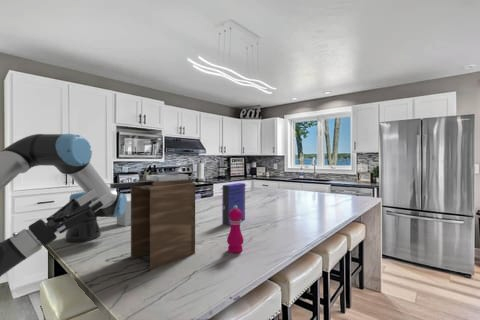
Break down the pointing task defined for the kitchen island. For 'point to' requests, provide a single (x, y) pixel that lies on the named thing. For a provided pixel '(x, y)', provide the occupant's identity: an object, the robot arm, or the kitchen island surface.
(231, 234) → the pepper mill
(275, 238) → the kitchen island surface
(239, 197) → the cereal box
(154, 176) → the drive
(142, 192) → the stand
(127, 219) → the supplement box
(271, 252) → the kitchen island surface
